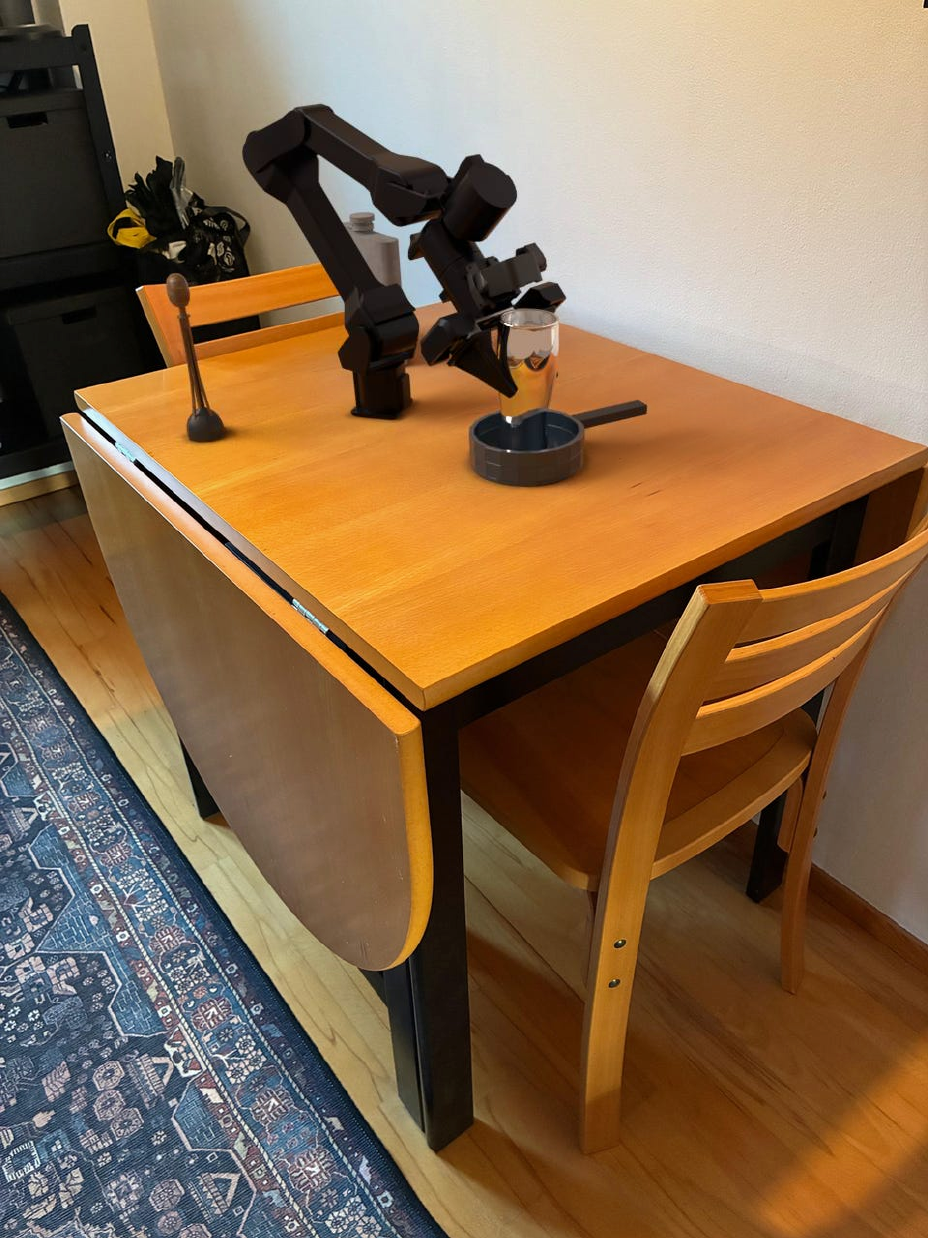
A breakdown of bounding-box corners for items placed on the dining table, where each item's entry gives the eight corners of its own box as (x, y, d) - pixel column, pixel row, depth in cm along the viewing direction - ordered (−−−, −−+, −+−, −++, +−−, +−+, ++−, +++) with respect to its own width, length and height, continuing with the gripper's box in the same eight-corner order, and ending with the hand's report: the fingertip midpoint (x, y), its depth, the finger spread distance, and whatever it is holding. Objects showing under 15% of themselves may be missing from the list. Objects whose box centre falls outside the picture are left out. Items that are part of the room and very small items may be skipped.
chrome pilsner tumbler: (534, 464, 109) (541, 331, 100) (481, 450, 112) (483, 320, 103) (563, 443, 113) (572, 314, 105) (512, 429, 117) (516, 304, 108)
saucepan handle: (578, 430, 113) (578, 420, 113) (569, 424, 115) (569, 415, 114) (646, 414, 117) (647, 404, 116) (637, 408, 118) (637, 399, 118)
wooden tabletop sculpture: (183, 428, 126) (150, 269, 115) (219, 421, 127) (189, 264, 116) (192, 444, 121) (158, 280, 110) (228, 437, 123) (198, 275, 111)
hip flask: (411, 364, 143) (401, 220, 132) (386, 369, 141) (373, 224, 130) (366, 336, 155) (353, 202, 143) (342, 341, 153) (328, 206, 142)
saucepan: (454, 478, 110) (453, 446, 108) (489, 433, 121) (489, 403, 118) (567, 492, 106) (568, 458, 104) (594, 444, 117) (595, 412, 114)
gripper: (433, 238, 96) (516, 371, 96) (555, 205, 107) (630, 325, 106) (386, 303, 105) (461, 425, 105) (503, 267, 116) (572, 378, 115)
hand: (534, 386), depth 108 cm, fingers closed on chrome pilsner tumbler, 7 cm apart
